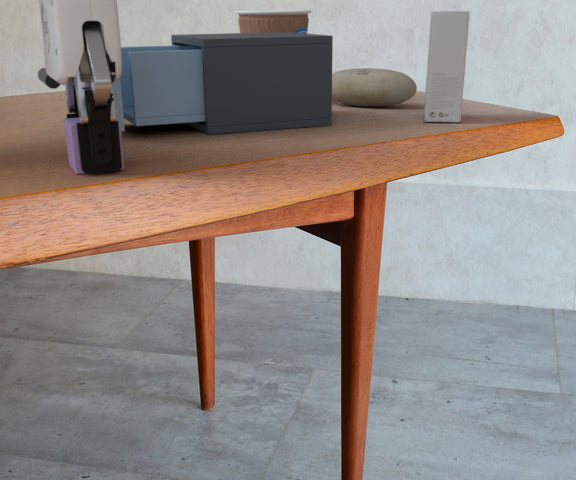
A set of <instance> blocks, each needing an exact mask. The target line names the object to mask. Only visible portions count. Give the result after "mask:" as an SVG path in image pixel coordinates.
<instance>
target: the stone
mask: <svg viewBox="0 0 576 480" xmlns="http://www.w3.org/2000/svg"><path fill="white" fill-rule="evenodd" d="M417 86H418V85H417V83H416V82H415V80H414V79H413V78H412V77H411V76H409V75H407V74H406V73H404V72H401V71H397V70H393V69H385V68H373V67H362V68H361V67H360V68H349V69H348V68H347V69H342V70H341V69H340V70H338V71H335V72H332V100H334V101H336V102H337V103H341V104H344V105H347V104H348V106H353V105H357V106H356V107H368V106H371V107H387V106H388V107H389V106H394V105H396V106H397V105H401V104H403V103H405V102H407V101H409V100H410V99H412V98H413V97H414V96H415V95H416V93H417V89H418V87H417Z"/></svg>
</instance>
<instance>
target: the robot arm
mask: <svg viewBox="0 0 576 480" xmlns="http://www.w3.org/2000/svg"><path fill="white" fill-rule="evenodd" d="M38 1H39V12H40V13H39V14H40V22H41V33H42V43H43V53H44V54H43V55H44V56H43V57H44V68H46V73H47V74H48V75H49V76H50V77H51V78H53V79H54V80H55V81H57V82H58V83H60V85H61V86H64V88H65V99H66V100H65V101H66V109H67V113H66V118H79V117H80V122H81V123H76V124H77V133H78V142H79V151H80V160H81V169H82V171H83V172H84V174H97V173H99V174H100V173H109V172H110V173H111V172H118V171H119V172H120V171H121V170H120V169H121V168H122V160H121V149H120V138H119V127H118V121H117V114H116V107H115V100H114V92H113V85H112V82H113V83H114V82H116V81H117V80H118V79H119V78H120V77H121V75H122V56H121V47H122V41H121V31H120V19H119V9H118V0H38Z"/></svg>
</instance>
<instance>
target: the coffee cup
mask: <svg viewBox="0 0 576 480" xmlns="http://www.w3.org/2000/svg"><path fill="white" fill-rule="evenodd" d="M311 13H312V10H311V9H243V10H242V9H240V10H235V14H236V15H238V28H239V33H268V32H292V33H305V34H308V30H309V22H310V18H309V14H311Z"/></svg>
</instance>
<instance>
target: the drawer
mask: <svg viewBox="0 0 576 480" xmlns="http://www.w3.org/2000/svg"><path fill="white" fill-rule="evenodd" d="M121 56H122V75H121V77H120V78H119V79H118V80H117V81H116V82H114V83H113V82H112V85H113V92H114V100H115V107H116V114H117V120H118V121H120V123H121V132H125V130H126V129H125V121H127V122H129V123H131V124H132V125H133V126H135V127H146V126H159V125H161V126H162V125H173V124H174V125H175V124H186V123H191V122H205V100H204V79H203V58H202V47H199V46H193V45H172V44H171V45H146V46H145V45H144V46H143V45H141V46H139V45H138V46H121ZM37 78H38V80H39V81H40V82H41V83H43V84H44V85H45V86H46V87H48V88H50V89H54V90H55V89H58V88H59V87H60V86H61V84H60V83H58V82H57V81H55V80H54V79H53V78H51V77H50V76H49V75H48V74H47V73H46V68H45V67H42V68H40V69H39V70H38V72H37Z"/></svg>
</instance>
